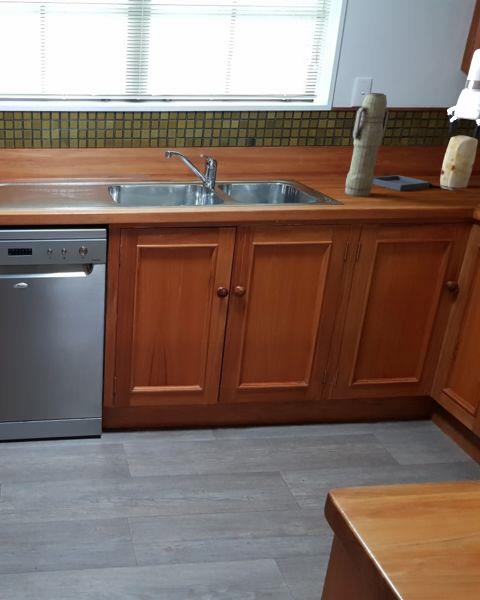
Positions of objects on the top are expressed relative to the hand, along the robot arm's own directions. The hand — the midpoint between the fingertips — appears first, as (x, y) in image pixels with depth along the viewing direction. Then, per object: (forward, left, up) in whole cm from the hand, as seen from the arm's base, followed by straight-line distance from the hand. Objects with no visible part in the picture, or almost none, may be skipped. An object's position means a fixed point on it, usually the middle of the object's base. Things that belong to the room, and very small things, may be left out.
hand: (464, 135), depth 223 cm
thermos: (+8, +40, -21) cm, 45 cm away
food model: (0, 0, -21) cm, 21 cm away
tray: (+13, +13, -20) cm, 27 cm away
